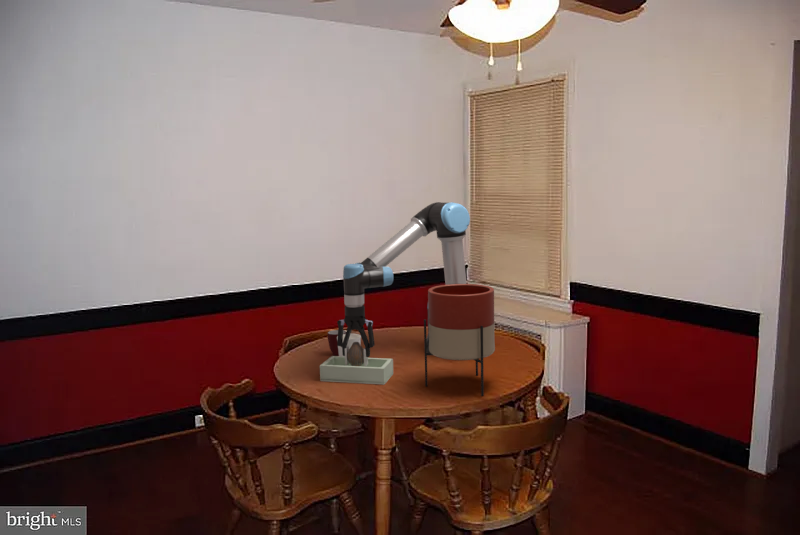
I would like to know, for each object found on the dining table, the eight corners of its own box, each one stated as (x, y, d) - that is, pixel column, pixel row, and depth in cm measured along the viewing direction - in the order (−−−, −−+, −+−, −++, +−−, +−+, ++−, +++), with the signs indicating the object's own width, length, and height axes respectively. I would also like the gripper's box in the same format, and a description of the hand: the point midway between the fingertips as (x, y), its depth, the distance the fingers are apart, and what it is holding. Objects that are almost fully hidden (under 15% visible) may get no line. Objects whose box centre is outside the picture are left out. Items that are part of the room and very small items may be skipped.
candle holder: (365, 362, 261) (364, 334, 259) (356, 369, 252) (355, 340, 250) (344, 360, 264) (342, 332, 262) (334, 367, 255) (332, 338, 253)
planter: (425, 376, 241) (422, 284, 236) (491, 374, 240) (490, 283, 235) (425, 397, 217) (423, 296, 212) (498, 396, 217) (498, 294, 212)
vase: (347, 362, 244) (346, 340, 243) (365, 361, 245) (364, 339, 243) (347, 368, 237) (346, 345, 236) (366, 367, 238) (365, 344, 236)
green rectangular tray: (393, 373, 245) (392, 358, 244) (384, 384, 232) (383, 368, 231) (332, 370, 251) (331, 356, 250) (320, 381, 238) (319, 365, 237)
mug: (353, 351, 277) (352, 329, 276) (352, 356, 269) (351, 334, 268) (329, 352, 277) (328, 330, 276) (327, 357, 270) (326, 334, 268)
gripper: (382, 303, 239) (384, 362, 242) (333, 302, 244) (335, 360, 247) (376, 307, 231) (378, 368, 235) (326, 306, 236) (328, 366, 240)
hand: (356, 364), depth 241 cm, fingers closed on vase, 7 cm apart
